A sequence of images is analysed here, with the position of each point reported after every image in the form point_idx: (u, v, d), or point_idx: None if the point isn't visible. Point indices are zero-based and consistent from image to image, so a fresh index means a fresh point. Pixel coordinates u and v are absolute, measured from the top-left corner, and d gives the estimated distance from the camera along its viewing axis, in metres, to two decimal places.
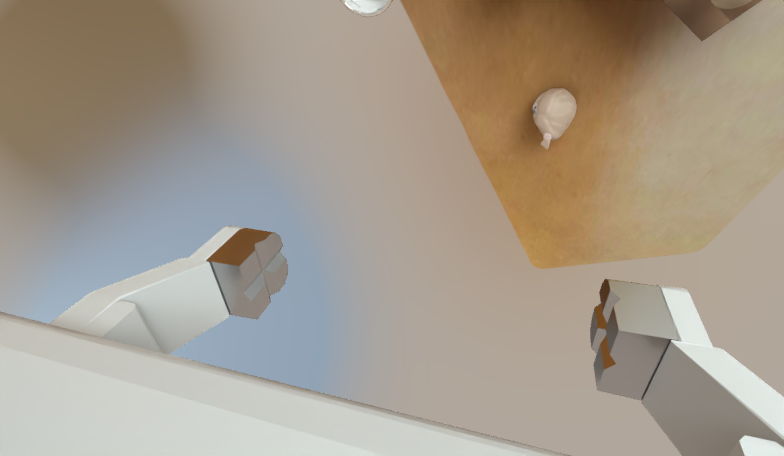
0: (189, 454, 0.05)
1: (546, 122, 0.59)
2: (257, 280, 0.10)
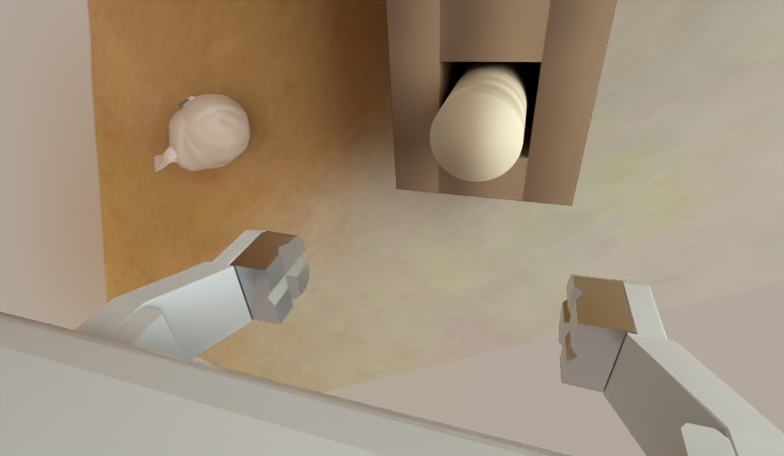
0: (189, 454, 0.05)
1: (180, 134, 0.33)
2: (280, 284, 0.10)
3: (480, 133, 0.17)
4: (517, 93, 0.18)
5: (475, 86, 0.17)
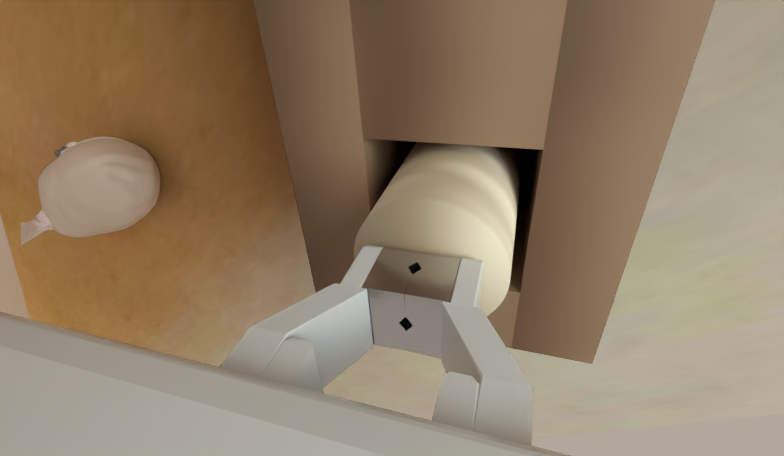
0: (189, 454, 0.05)
1: (51, 195, 0.24)
2: None
3: None
4: (502, 180, 0.11)
5: (428, 177, 0.10)
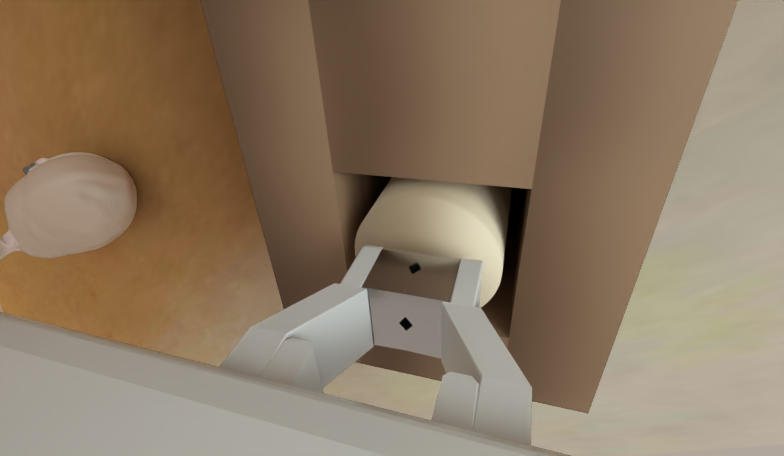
0: (189, 454, 0.05)
1: (18, 215, 0.23)
2: None
3: None
4: None
5: None
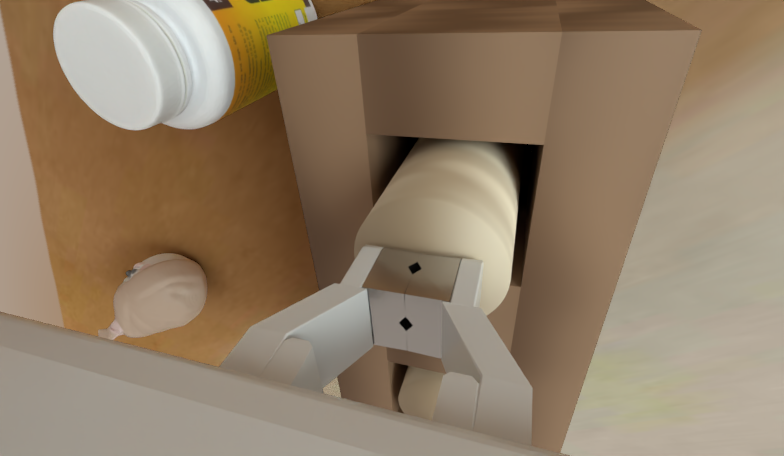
0: (189, 454, 0.05)
1: (125, 311, 0.30)
2: None
3: None
4: None
5: None
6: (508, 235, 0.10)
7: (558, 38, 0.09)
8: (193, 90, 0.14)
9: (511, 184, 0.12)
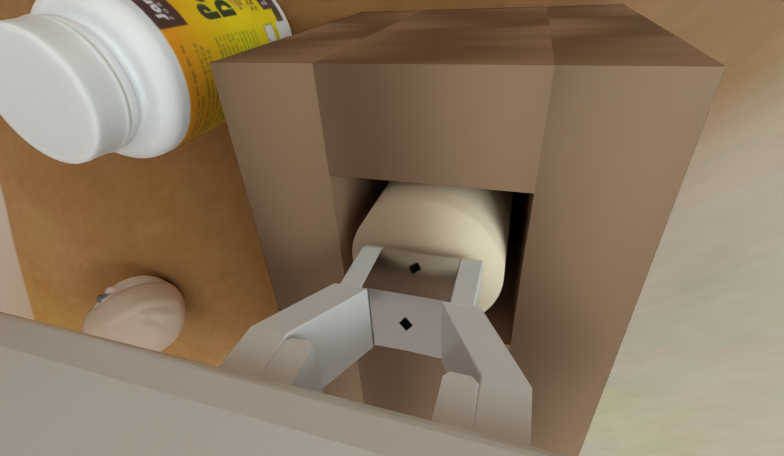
0: (189, 454, 0.05)
1: None
2: None
3: None
4: None
5: None
6: (501, 236, 0.10)
7: (550, 72, 0.07)
8: (142, 117, 0.13)
9: None
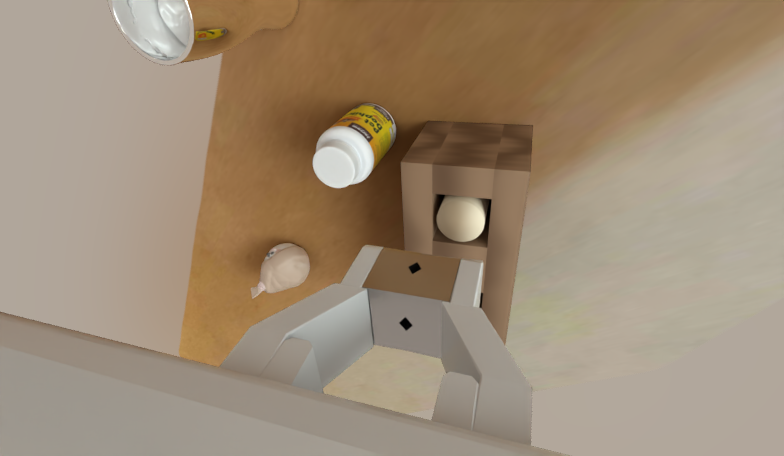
0: (189, 454, 0.05)
1: (269, 276, 0.52)
2: None
3: None
4: None
5: None
6: (483, 211, 0.34)
7: (493, 170, 0.31)
8: None
9: None
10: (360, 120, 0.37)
